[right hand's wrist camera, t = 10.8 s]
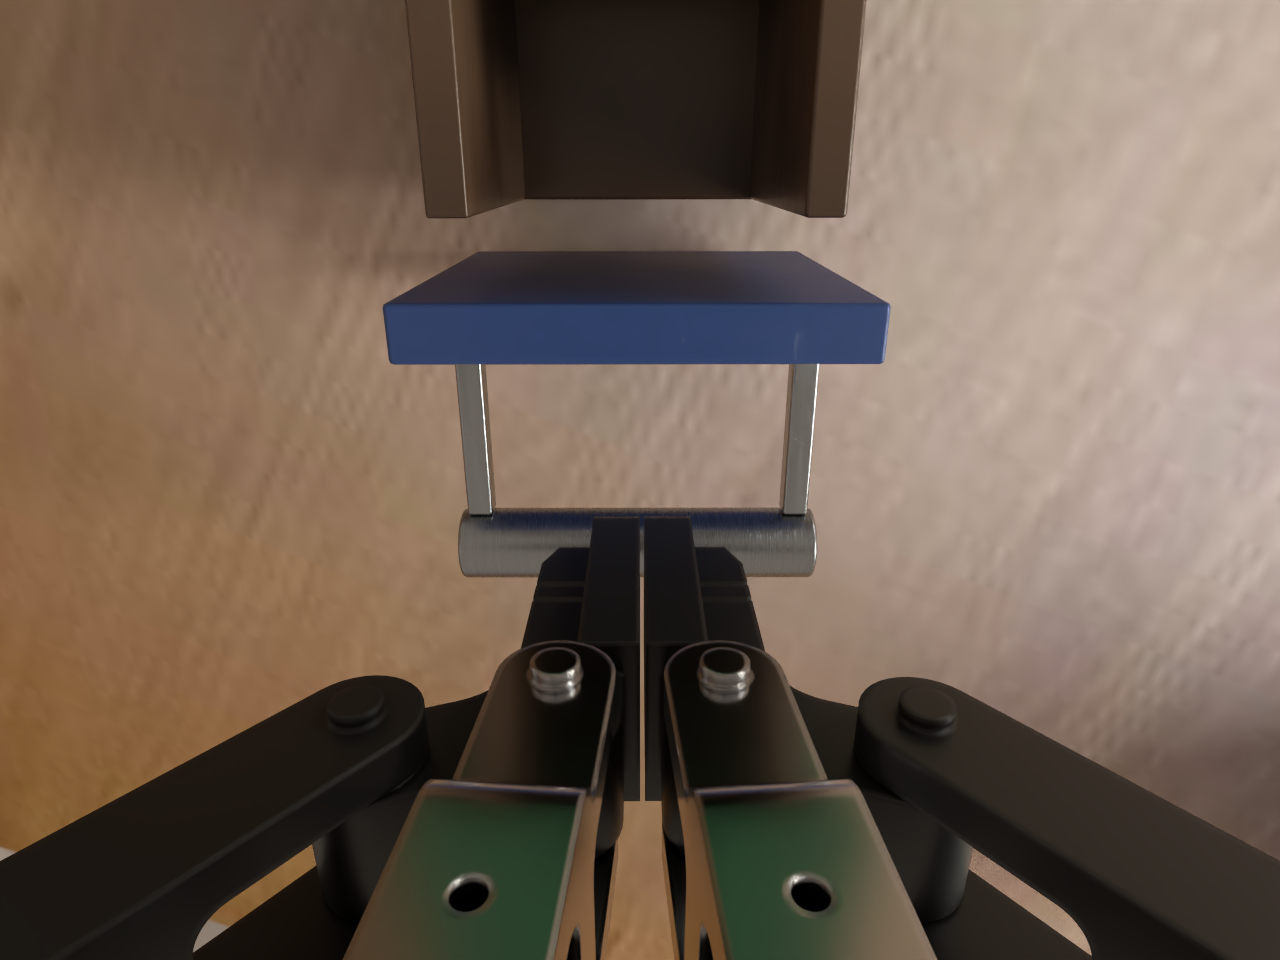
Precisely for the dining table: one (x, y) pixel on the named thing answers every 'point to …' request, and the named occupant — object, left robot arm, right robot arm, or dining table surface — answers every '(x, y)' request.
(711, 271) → the drawer
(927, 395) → the dining table surface
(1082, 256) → the dining table surface
